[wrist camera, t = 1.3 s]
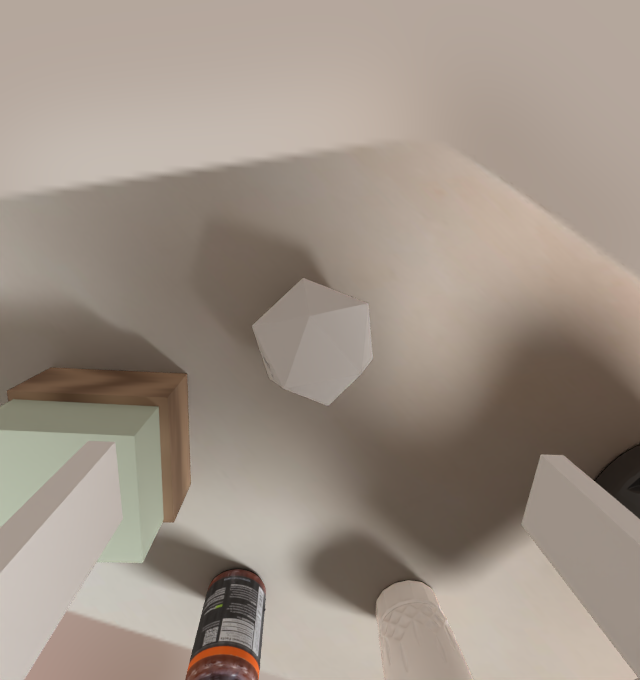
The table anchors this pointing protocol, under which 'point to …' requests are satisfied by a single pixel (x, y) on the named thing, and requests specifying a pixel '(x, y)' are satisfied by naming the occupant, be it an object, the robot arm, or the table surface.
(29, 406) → the sage block
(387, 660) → the white cup
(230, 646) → the supplement bottle
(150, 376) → the walnut slab
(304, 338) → the die
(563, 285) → the table surface
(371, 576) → the table surface
